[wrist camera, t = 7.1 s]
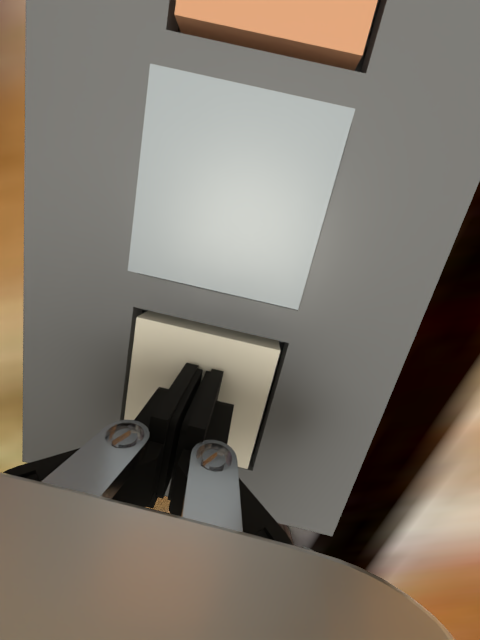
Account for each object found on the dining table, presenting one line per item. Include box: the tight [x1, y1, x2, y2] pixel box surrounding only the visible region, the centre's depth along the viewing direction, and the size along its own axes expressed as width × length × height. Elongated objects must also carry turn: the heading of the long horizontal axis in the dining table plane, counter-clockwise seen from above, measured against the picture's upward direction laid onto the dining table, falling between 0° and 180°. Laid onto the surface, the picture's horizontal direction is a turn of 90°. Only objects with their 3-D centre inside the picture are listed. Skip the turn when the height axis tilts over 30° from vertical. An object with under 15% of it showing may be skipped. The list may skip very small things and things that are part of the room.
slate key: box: [128, 64, 355, 310], centre depth 10 cm, size 6×6×4 cm
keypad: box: [23, 0, 480, 536], centre depth 13 cm, size 28×16×6 cm, turn 168°
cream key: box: [124, 310, 281, 469], centre depth 13 cm, size 6×6×4 cm
